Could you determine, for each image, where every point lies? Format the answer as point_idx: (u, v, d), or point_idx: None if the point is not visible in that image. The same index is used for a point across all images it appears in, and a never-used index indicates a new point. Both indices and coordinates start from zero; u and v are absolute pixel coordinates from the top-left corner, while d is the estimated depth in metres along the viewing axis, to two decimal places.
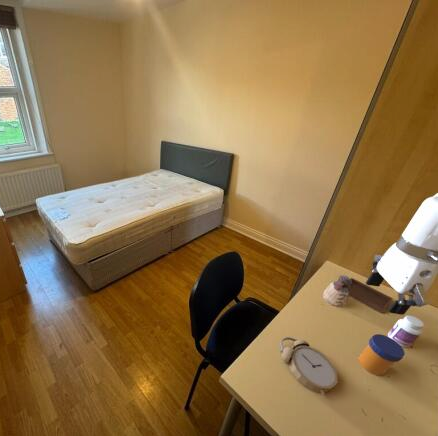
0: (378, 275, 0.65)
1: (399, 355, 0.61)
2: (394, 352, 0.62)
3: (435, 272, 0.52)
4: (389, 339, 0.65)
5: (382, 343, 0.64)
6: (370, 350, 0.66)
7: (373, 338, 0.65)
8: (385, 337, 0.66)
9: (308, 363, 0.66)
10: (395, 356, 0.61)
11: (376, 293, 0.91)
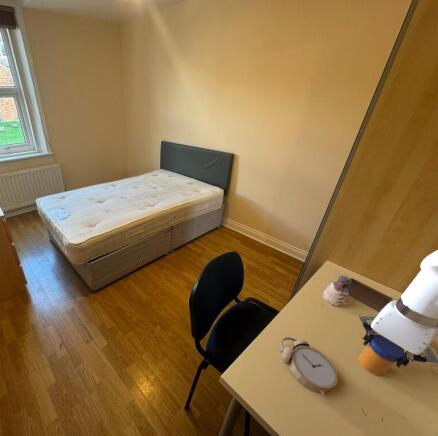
0: (372, 335, 0.66)
1: (399, 355, 0.61)
2: (394, 352, 0.62)
3: None
4: None
5: (382, 343, 0.64)
6: (370, 350, 0.66)
7: (373, 338, 0.65)
8: None
9: (308, 363, 0.66)
10: (395, 356, 0.61)
11: (376, 293, 0.91)
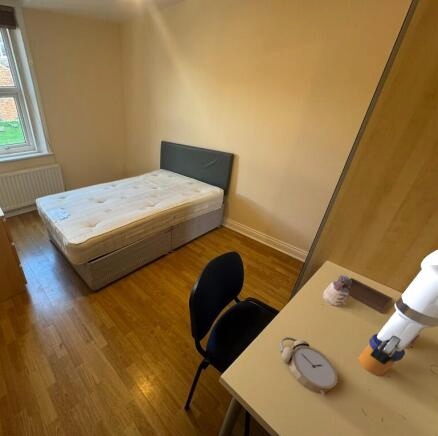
0: None
1: None
2: (396, 345, 0.63)
3: None
4: (376, 338, 0.65)
5: None
6: (370, 350, 0.66)
7: None
8: (376, 340, 0.65)
9: (308, 363, 0.66)
10: None
11: (376, 293, 0.91)
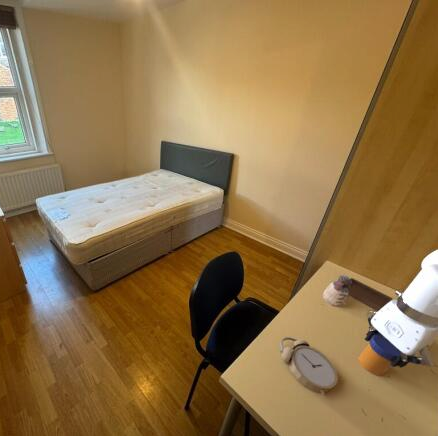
0: None
1: (382, 335, 0.66)
2: (386, 338, 0.65)
3: (386, 304, 0.62)
4: (382, 346, 0.63)
5: (394, 347, 0.63)
6: (369, 350, 0.66)
7: None
8: (385, 349, 0.62)
9: (308, 363, 0.66)
10: None
11: (376, 293, 0.91)
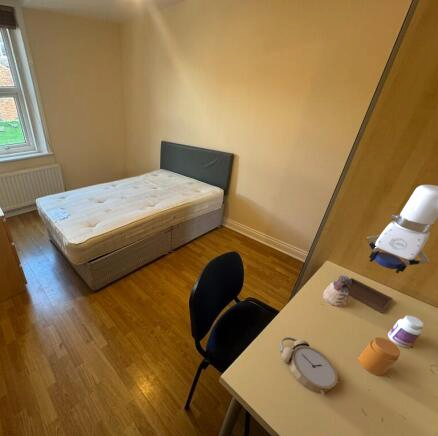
0: (403, 262, 0.78)
1: (381, 253, 0.83)
2: (384, 254, 0.83)
3: (387, 227, 0.78)
4: (388, 261, 0.80)
5: (394, 258, 0.81)
6: (370, 350, 0.66)
7: (401, 261, 0.79)
8: (391, 262, 0.79)
9: (308, 363, 0.66)
10: (383, 252, 0.84)
11: (376, 293, 0.91)
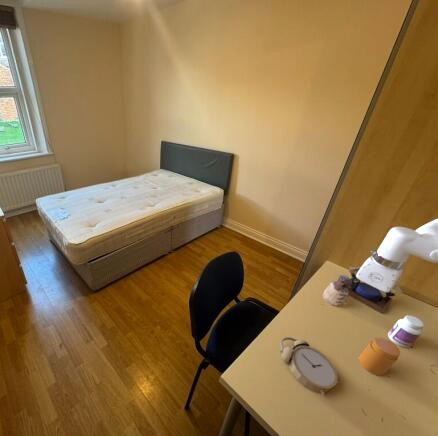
0: (381, 293, 0.86)
1: (362, 283, 0.91)
2: (365, 284, 0.91)
3: (366, 261, 0.86)
4: (367, 291, 0.87)
5: (373, 289, 0.88)
6: (370, 350, 0.66)
7: (379, 292, 0.87)
8: (370, 293, 0.87)
9: (308, 363, 0.66)
10: (364, 282, 0.91)
11: None
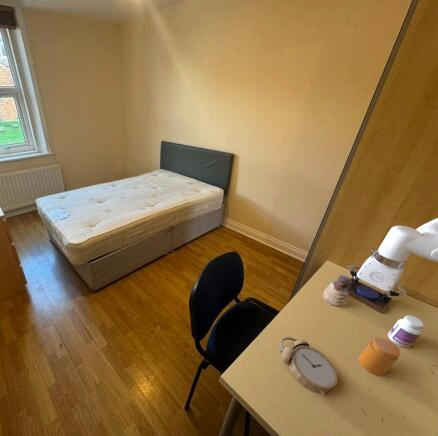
0: None
1: (361, 285, 0.92)
2: (364, 287, 0.91)
3: (366, 260, 0.86)
4: (366, 294, 0.88)
5: (372, 292, 0.89)
6: (370, 350, 0.66)
7: (378, 295, 0.88)
8: (369, 295, 0.87)
9: (308, 363, 0.66)
10: (363, 285, 0.92)
11: None
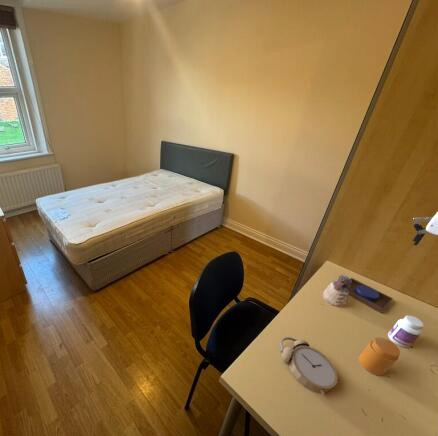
0: None
1: (361, 285, 0.92)
2: (364, 287, 0.91)
3: None
4: (366, 294, 0.88)
5: (372, 292, 0.89)
6: (370, 350, 0.66)
7: (378, 295, 0.88)
8: (369, 295, 0.87)
9: (308, 363, 0.66)
10: (363, 285, 0.92)
11: None
